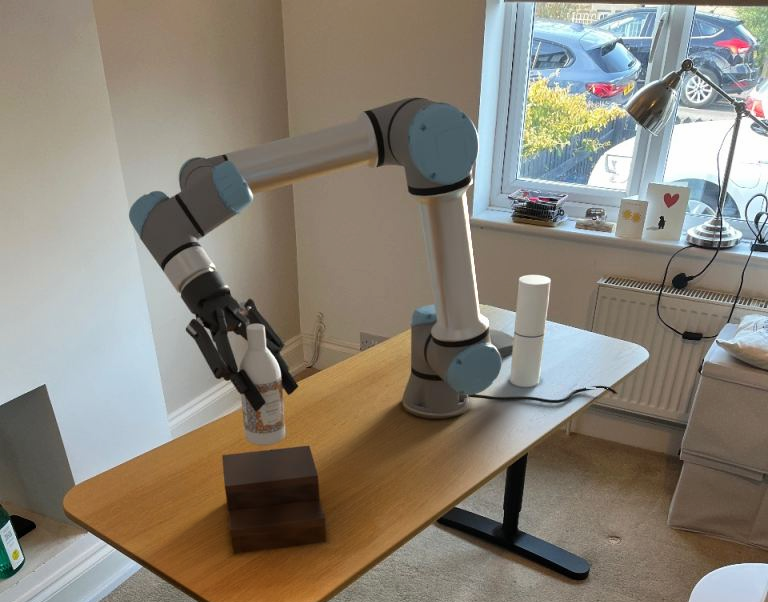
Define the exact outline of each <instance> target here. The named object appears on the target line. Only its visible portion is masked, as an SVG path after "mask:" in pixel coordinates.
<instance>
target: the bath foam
mask: <svg viewBox="0 0 768 602" xmlns="http://www.w3.org/2000/svg"><path fill="white" fill-rule="evenodd" d="M246 330H247V340H248V341H247V340H246V341H247V347H248V348H247V350H246V352H245V353H244V355H243V358H242V359H241V361H240V364H239V367H238V372H239V371H240V370H242V369H244V371H245V372H246V374H247V375H248V377H249V378H250V380H251V381H252V382H253V384H254V385H255V387H256V388H257V390H258V391H259V393H260V394H261V396H262V397H263V399H264V400H265V402H266V403H265V404H264V405H263V406H262V407H261V408H260V409H259V410H258V411H255V410H254V408H253V407H252V406H251V404H250V403H249V401H248V400H247V398H246V397H245V395H244V394H240V398H241V399H240V400H241V409H242V419H243V427H244V434H245V439H246V440H247V442H248V443H250V444H252V445H255V446H264V447H265V446H267V447H268V446H272V445H275V444H279V443H280V442H281V441H283V440H284V439H285V438H286V432H287V431H286V419H285V407H284V394H283V387H282V379H281V371H280V367H279V364H278V362H277V360H276V359H275V357H274V356H273V355H272V353H271V352H270V350H268V348H267V347H266V336H265V327H264V325H262V324H251V325H248V326H247V328H246Z"/></svg>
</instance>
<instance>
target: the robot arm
mask: <svg viewBox="0 0 768 602" xmlns="http://www.w3.org/2000/svg"><path fill="white" fill-rule="evenodd" d="M479 141H480V139H479V134H478V131H477V128H476V126H475V124H474V121H472V120H471V118H470V116H468V115H467V114H466V113H465V112H463V110H461V109H459V108H458V107H456V106H454V105H452V104H450V103H447V102H442V101H440V102H439V101H433V100H430V99H427V98H424V97H417V96H415V97H408V98H403V99H399V100H397V101H393V102H391V103H386V104H384V105H381V106H378V107H374V108H371V109H368V110H364V111H361V112H359V113H358V115H357V117H356V119H354V120H351V121H346V122H343V123H338V124H335V125H332V126H327V127H323V128H320V129H316V130H310V131H308V132H305V133H300V134H297V135H292V136H288V137H285V138H281V139H277V140H273V141H270V142H269V141H268V142H265V143H262V144H257V145H254V146H250V147H246V148H242V149H239V150H234V151H231V152H227V153H224V154H219V155H215V156H212V157H208V158H205V157H201V156H198V157H197V156H196V157H191V158H189V159H187V160H186V161H185V162H184V163H183V164H182V165H181V167H180V168H179V172H178V183H179V188H180V191H179V192H178V193H176V194H175V195H172V196H171V197H170V196H168V195H167V194H166V192H165V193H164V192H163V191H161V190H153V191H151V192H149V193H148V194H143V195H142V196H140V197H139V198H138V199H136V200H135V202H133V204H132V205H131V207H130V208H129V211H128V219H129V221H130V224H131V225H132V227H133V229H134V230H135V232H136V234H137V235H138V237H139V239H140V240H141V242H142V243H143V245H144V246H145V247H146V249H147V251H148V252H149V253H150V255H151V256H152V257H153V259H154V261H155V262H156V263H157V265H158V266H159V267H160V269H161V270H162V273H164V275H165V277H166V278H167V279H168V281H169V282H170V283H171V285H172V287H173V288H174V290H175V291H176V292H177V293H178V294H180V299H181V300H182V301H183V303H184V304H185V306H186V307H187V309H188V310H189V311H190V313H191V314H193V315H194V316H195V318H191V320H190V321H189V323H188V324H187V326H186V327H185V332H186V333H187V334H188V335H189V336H190V337H191V338H192V339H193V340H194V341H195V343H196V345H197V347H198V349H199V352H200V353H201V354H202V356H203V358H204V360H205V362H206V363H207V365H208V367H209V369H210V370H211V372H212V375H213V376H214V377H215V379H216V380H221V379H223V380H224V381H226V382H229V381H230V382H231V383H232V385H233V386H234V388H235V389H236V391H237V392H238V393H239V394H240V395H241V394H244V395H245V397H246V398H247V400H248V401H249V403H250V404H251V406H252V407H253V408H254V410H255V411H258V410H259V409H260V408H261V407H262V406H263V405H264V404H265V403H266V402H265V400H264V399H263V397H262V396H261V394H260V393H259V391H258V390H257V388H256V387H255V385H254V384H253V382H252V381H251V380H250V378H249V377H248V375H247V374H246V372H245V371H244V369H242V370H240V371H239V367H238V364H237V360H236V358H235V355H234V351H233V348H232V344H231V341H230V339H229V333H230V332H233V333H234V334H236V335H237V336H241V337H242V338H243V339H244V340H245V341H246V342H248V340H247V330H246V328H247V326H248V325H251V324H262V325H264V327H265V336H266V347H267V348H268V350H269V351H270V352H271V353H272V355H273V356H274V357H275V359H276V360H277V362H278V364H279V367H280V371H281V379H282V389H283V390H284V392H285V393H286V394H287V396H291V395H292V394H293V393H294V392H295V391H296V390H297V388H299V385H298V383H297V382H296V380H295V379H294V377H293V375H292V374H291V373H290V367H289V365H288V363H287V362H286V361H285V359H284V357H283V356H282V354H281V352H282V350H283V348H284V347H285V346H286V343H285V342H284V341H283V339H282V338H281V337H280V336H279V334H277V332H276V330H275V329H274V328H273V327H272V326H271V324H270V323H269V322H268V321H267V320H266V319H265V317H264V316H263V314H262V313H261V312H260V311H259V309H258V307H257V305H256V303H255V301H254V300H253V299H252V298H248V299H247V300H246V301H243V302H239V300H237V299H235V298H234V297H233V296H232V294H231V289H230V287H229V285H228V283H227V282H226V280H225V279H224V278H223V276H222V274H221V273H220V272H219V271H217V270H216V269H217V267H216V265H215V264H214V263H213V261H212V260H211V258H210V257H209V255H208V254H207V252H206V251H205V250H204V248H203V247H202V245H201V243H199V240H201V239H202V238H204V237H205V236H206V235H208V234H210V233H211V232H212V231H214V230H216V229H217V228H218V227H220V226H221V225H222V224H224V223H226V222H228V221H229V220H230V219H232V218H233V217H235V216H236V215H240V214H241V213H242V211H243V210H245V209H246V208H247V207H248V206H250V205H251V204H252V203H253V201H254V195H255V194H259V193H264V192H267V191H270V190H274V189H279V188H281V187H285V186H288V185H293V184H296V183H300V182H305V181H308V180H312V179H316V178H319V177H323V176H327V175H331V174H334V173H338V172H342V171H346V170H349V169H353V168H356V167H361V166H365V165H366V166H367V167H369V168H370V169H376V168H380V167H385V166H400V167H403V168H404V173H405V180H406V185H407V191H408V192H407V193H408V195H409V196H411V197H412V198H413V199H415V200H416V201H417V202H418V208H419V213H420V214H419V215H420V220H421V227H422V232H423V239H424V245H425V252H426V258H427V265H428V272H429V277H430V284H431V291H432V296H433V297H432V298H433V303H434V304H430V305H424V306H421V307H418V308H416V309H415V310H414V311H413V312H412V315H411V321H410V330H411V331H410V375H409V377H408V380H407V383H406V386H405V389H404V392H403V394H402V408H403V409H404V410H405V411H406V412H407V413H408V414H410V415H413V416H415V417H418V418H422V419H429V420H446V419H451V418H456V417H458V416H461V415H463V414H464V413H466V411H467V410H468V409H469V401H470V398H474V399H475V398H476V399H484V400H493V401H520V400H525V401H536V402H541V403H547V404H559V403H560V404H561V403H565V402H567V401H568V400H570V399H571V398H572V397H573V396H574V395H576V394H578V393H581V392H582V393H583V392H586V391H593V390H594V389H586V387H582V388H577V389H574V390H572V391H570V393H569V394H568V395H567V396H565V397H564V398H559V399H549V398H548V399H547V398H542V397H537V396H527V395H526V396H491V395H485V394H479V393H482V392H484V391H486V390H487V389H488V388H490V387H491V386H492V385H493V382H494V381H495V380H496V379H497V378H498V377H499V374H500V373H501V369H502V363H503V362H502V356H500V353H499V352H498V350H497V348H496V347H495V346H493V345H492V344H491V339H490V330H489V329H490V323H489V322H490V321H489V320H488V318H487V317H485V316H484V315H482V314H481V312H480V305H479V296H478V295H479V294H478V288H477V287H478V286H477V279H476V270H475V263H474V255H473V244H472V236H471V227H470V219H469V211H468V204H467V203H468V202H467V195H466V194H467V191H468V190H469V188H470V187H471V185H472V184H473V182H474V181H473V179H474V178H473V167H474V164H475V163H476V162H477V159H478V157H479V150H480V142H479ZM207 330H209V332H208V331H207ZM209 333H210V334H209ZM210 336H211V337H210ZM591 387H596V388H604V389H603V390H606V391H609V392H611V393H612V394H614V395H618V392H617V391H616V390H615V389H614V388H612V387H610V386H606V385H593V386H591ZM607 388H608V389H607Z"/></svg>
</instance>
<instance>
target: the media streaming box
mask: <svg viewBox="0 0 768 602" xmlns="http://www.w3.org/2000/svg"><path fill="white" fill-rule="evenodd" d="M489 330H490V339H491V344H492V345H493V346H495V347H496V348H497V350H498V352H499V353H500V356H501V357H503V356H506V355H509V354H512V352H513V341H514V336H512V335H510V334H509V333H507V332H504V331H502V330H498V329H492V328H489Z"/></svg>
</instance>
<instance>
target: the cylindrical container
mask: <svg viewBox="0 0 768 602" xmlns="http://www.w3.org/2000/svg"><path fill="white" fill-rule="evenodd" d="M551 284H552V280H551V278H550V277H548V276H545V275H541V274H525V275H522V276H520V277H519V278H518V287H517V298H516V308H515V321H514V328H513V329H514V331H513V338H514V341H513V352H512V353H511V364H510V375H509V382H510V383H511V384H512V385H514V386H516V387H517V386H518V387H523V388H530V387H535V386H537V385H539V383H540V377H541V370H542V369H541V368H542V360H543V358H542V357H543V353H544V344H545V343H544V342H545V334H546V328H547V327H546V325H547V318H548V317H547V316H548V308H549V300H550V298H549V297H550V290H551Z"/></svg>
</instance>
